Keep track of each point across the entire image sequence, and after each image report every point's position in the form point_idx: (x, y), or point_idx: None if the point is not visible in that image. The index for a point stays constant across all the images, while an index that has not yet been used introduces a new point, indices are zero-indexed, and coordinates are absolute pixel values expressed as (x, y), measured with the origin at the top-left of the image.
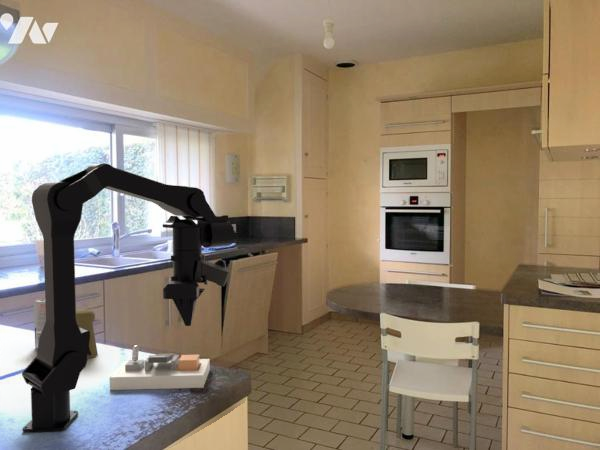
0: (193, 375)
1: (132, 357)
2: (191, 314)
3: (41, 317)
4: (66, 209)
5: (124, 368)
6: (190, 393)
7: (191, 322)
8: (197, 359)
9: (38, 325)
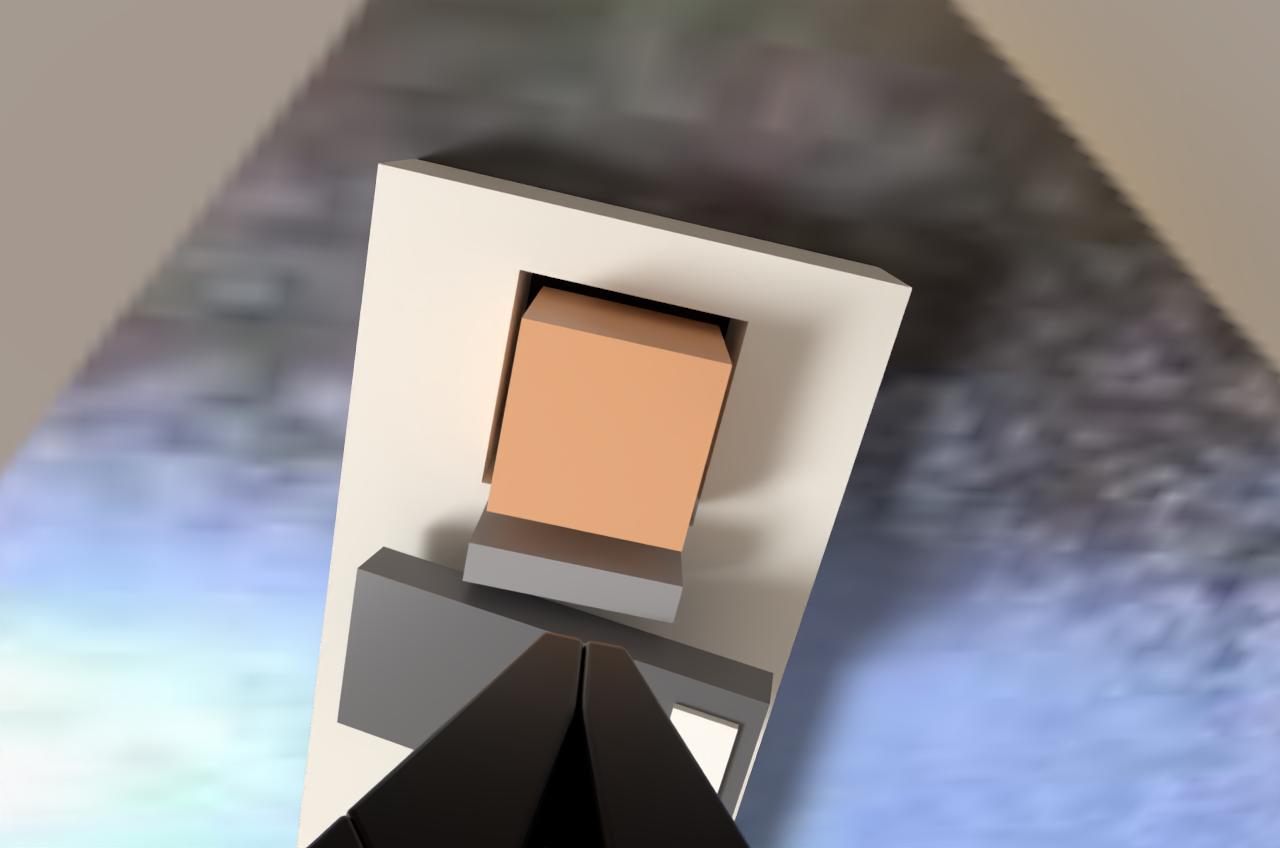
0: (880, 382)
1: None
2: (726, 828)
3: None
4: None
5: None
6: (962, 383)
7: (595, 662)
8: (674, 349)
9: None
